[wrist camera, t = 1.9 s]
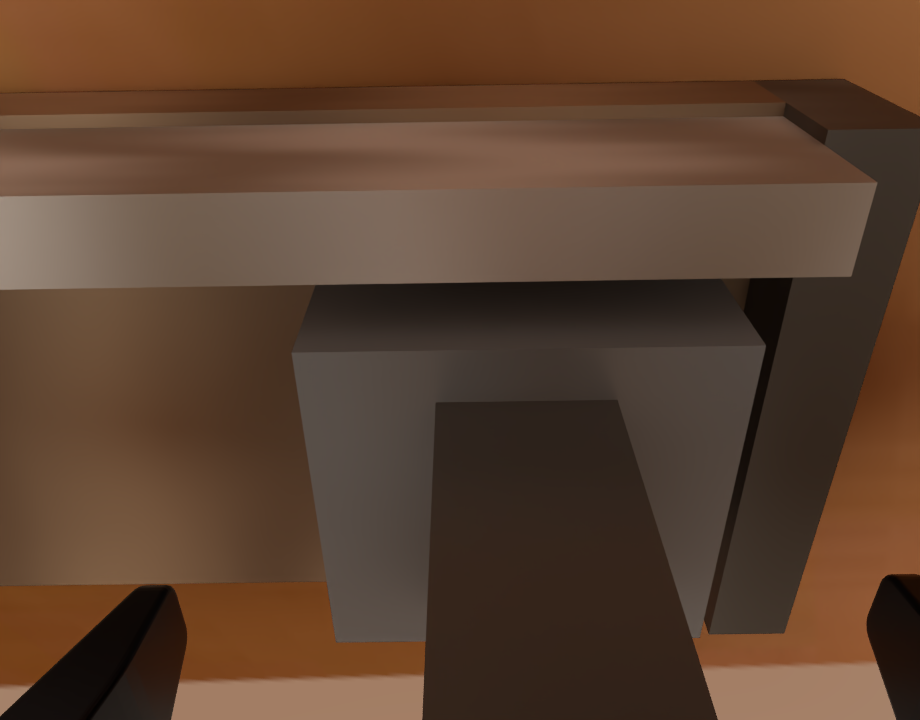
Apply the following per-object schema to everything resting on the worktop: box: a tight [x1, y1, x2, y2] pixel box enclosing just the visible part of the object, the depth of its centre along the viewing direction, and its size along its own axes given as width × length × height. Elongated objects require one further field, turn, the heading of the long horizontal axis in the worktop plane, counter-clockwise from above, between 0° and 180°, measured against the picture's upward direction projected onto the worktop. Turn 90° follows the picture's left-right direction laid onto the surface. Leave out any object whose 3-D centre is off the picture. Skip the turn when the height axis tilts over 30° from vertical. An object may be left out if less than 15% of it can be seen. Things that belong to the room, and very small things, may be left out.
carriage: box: [292, 279, 766, 720], centre depth 10 cm, size 6×6×8 cm
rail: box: [0, 79, 920, 634], centre depth 13 cm, size 26×10×4 cm, turn 91°
